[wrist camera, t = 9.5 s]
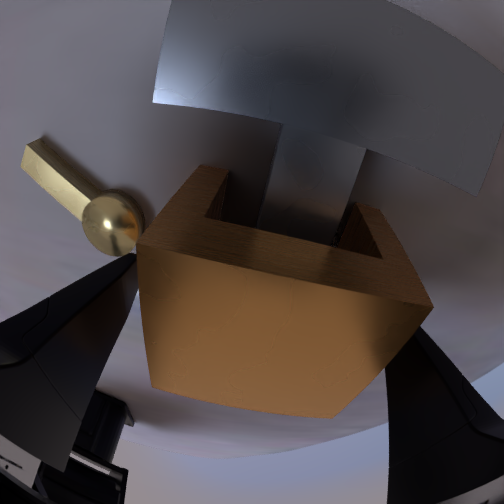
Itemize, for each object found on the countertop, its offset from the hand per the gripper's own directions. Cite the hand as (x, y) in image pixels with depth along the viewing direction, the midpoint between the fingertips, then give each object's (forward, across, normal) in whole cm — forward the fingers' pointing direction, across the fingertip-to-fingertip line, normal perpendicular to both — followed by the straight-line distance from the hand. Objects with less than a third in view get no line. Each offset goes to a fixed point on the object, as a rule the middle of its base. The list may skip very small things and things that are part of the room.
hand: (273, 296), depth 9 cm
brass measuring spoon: (+2, +9, -2) cm, 9 cm away
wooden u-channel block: (+2, 0, 0) cm, 2 cm away
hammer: (+2, 0, -2) cm, 3 cm away
